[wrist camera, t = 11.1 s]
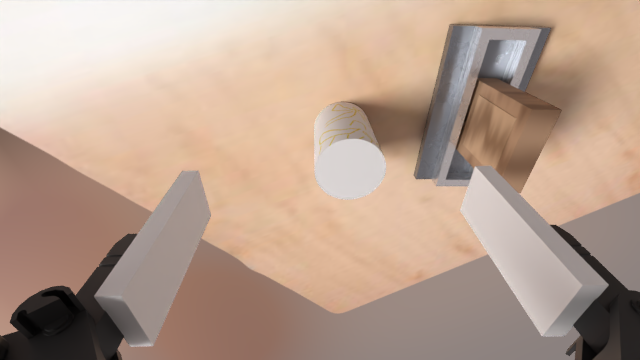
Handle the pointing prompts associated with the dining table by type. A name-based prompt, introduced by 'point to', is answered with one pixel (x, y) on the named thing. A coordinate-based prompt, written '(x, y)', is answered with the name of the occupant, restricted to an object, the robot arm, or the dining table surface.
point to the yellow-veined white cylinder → (346, 152)
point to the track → (471, 90)
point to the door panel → (505, 130)
